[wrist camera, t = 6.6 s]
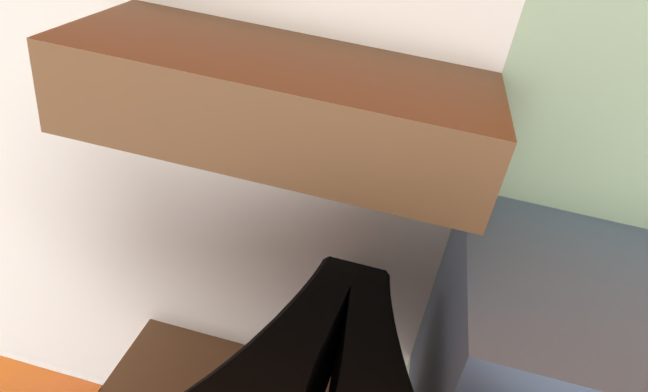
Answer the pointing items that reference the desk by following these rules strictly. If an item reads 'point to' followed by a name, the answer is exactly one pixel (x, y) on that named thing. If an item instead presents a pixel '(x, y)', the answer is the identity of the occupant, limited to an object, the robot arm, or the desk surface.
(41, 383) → the desk surface
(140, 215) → the deck
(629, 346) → the block
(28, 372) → the desk surface
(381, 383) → the robot arm
